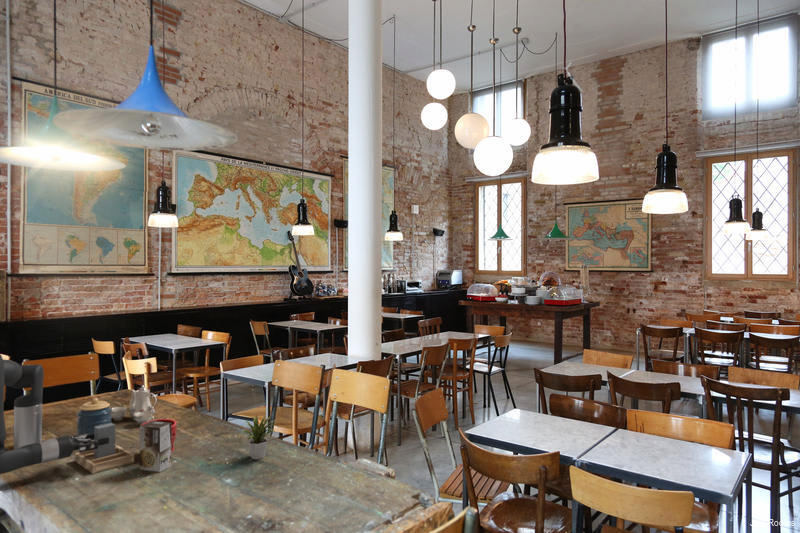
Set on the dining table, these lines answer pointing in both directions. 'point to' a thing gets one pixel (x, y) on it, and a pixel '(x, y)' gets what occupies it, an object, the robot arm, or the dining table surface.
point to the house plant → (258, 437)
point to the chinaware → (137, 407)
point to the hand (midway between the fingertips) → (104, 437)
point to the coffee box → (155, 446)
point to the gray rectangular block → (104, 432)
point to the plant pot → (173, 431)
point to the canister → (93, 416)
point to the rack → (104, 460)
